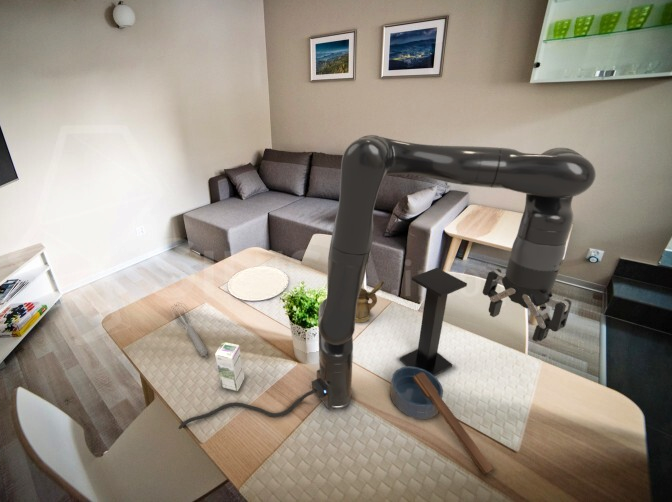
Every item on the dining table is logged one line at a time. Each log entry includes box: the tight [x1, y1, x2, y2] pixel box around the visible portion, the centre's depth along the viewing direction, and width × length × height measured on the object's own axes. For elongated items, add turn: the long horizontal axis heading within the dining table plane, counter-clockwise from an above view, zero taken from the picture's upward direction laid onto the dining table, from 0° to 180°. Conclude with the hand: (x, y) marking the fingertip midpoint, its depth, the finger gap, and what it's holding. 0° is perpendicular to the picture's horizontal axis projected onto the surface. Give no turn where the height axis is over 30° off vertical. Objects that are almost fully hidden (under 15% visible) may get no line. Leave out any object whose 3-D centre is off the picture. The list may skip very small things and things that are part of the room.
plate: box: [227, 265, 289, 302], centre depth 155 cm, size 29×29×1 cm
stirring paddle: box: [413, 372, 494, 475], centre depth 83 cm, size 4×24×1 cm, turn 23°
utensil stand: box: [399, 267, 468, 377], centre depth 99 cm, size 12×10×32 cm
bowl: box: [389, 366, 444, 420], centre depth 93 cm, size 13×13×6 cm
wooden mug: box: [355, 281, 385, 323], centre depth 124 cm, size 9×14×18 cm, turn 58°
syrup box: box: [214, 341, 245, 392], centre depth 101 cm, size 6×6×14 cm
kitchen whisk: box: [170, 301, 208, 359], centre depth 126 cm, size 6×34×6 cm, turn 32°
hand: (514, 326), depth 68 cm, fingers open, 8 cm apart
